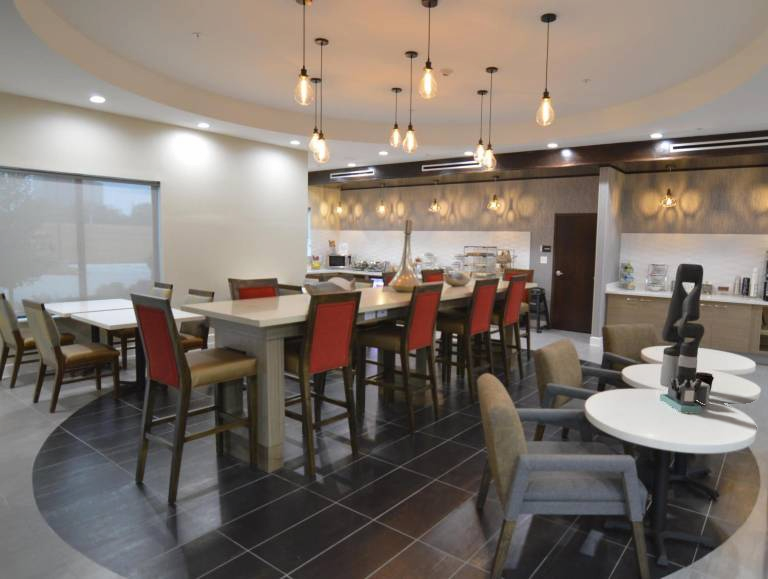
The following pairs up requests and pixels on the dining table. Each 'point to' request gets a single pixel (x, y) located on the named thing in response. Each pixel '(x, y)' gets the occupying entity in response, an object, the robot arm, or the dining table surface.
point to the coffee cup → (705, 378)
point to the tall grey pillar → (682, 394)
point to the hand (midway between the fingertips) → (684, 399)
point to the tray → (680, 405)
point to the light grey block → (702, 393)
